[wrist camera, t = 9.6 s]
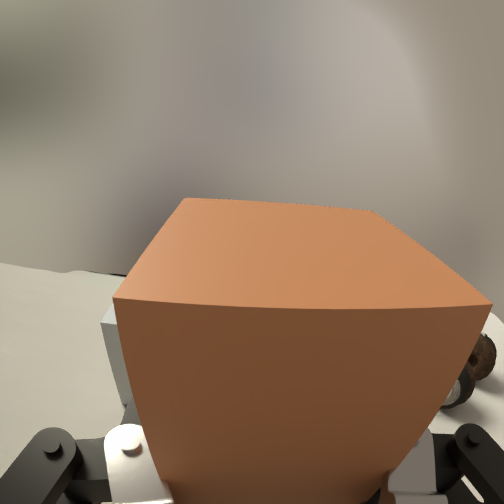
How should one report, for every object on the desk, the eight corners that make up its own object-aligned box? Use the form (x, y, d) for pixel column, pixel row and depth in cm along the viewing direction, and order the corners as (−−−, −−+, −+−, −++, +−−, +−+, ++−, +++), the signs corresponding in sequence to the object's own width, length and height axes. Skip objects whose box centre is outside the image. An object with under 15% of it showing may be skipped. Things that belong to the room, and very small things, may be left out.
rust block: (191, 549, 8) (112, 297, 3) (197, 459, 12) (184, 197, 8) (317, 547, 8) (492, 304, 3) (302, 459, 13) (372, 211, 8)
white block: (122, 403, 31) (100, 322, 27) (131, 376, 36) (116, 296, 31) (162, 409, 32) (149, 327, 27) (169, 380, 36) (160, 300, 32)
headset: (466, 385, 25) (348, 322, 42) (444, 433, 27) (342, 366, 44) (509, 334, 33) (414, 296, 50) (493, 377, 35) (406, 334, 52)
